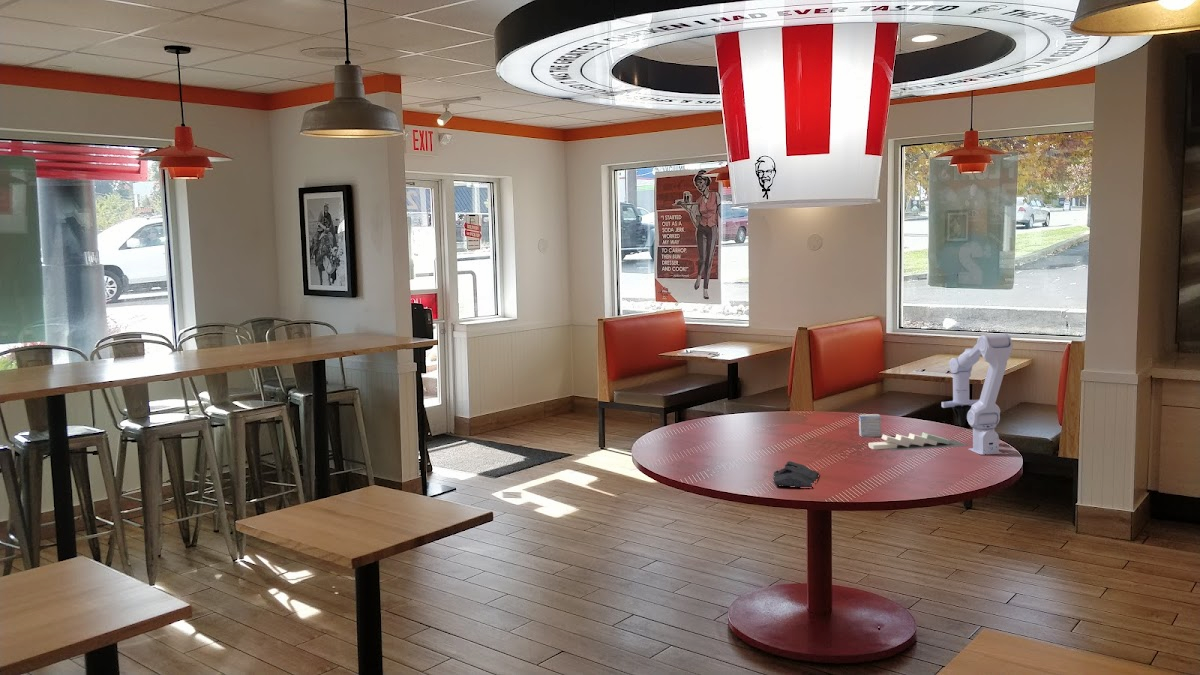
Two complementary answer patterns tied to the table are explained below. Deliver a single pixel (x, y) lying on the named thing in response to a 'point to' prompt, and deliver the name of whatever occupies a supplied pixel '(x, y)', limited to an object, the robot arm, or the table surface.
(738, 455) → the table surface
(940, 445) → the charcoal mat
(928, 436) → the domino
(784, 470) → the dark slate chunk
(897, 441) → the domino
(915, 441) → the domino
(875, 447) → the domino
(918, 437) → the domino
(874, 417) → the medicine box
